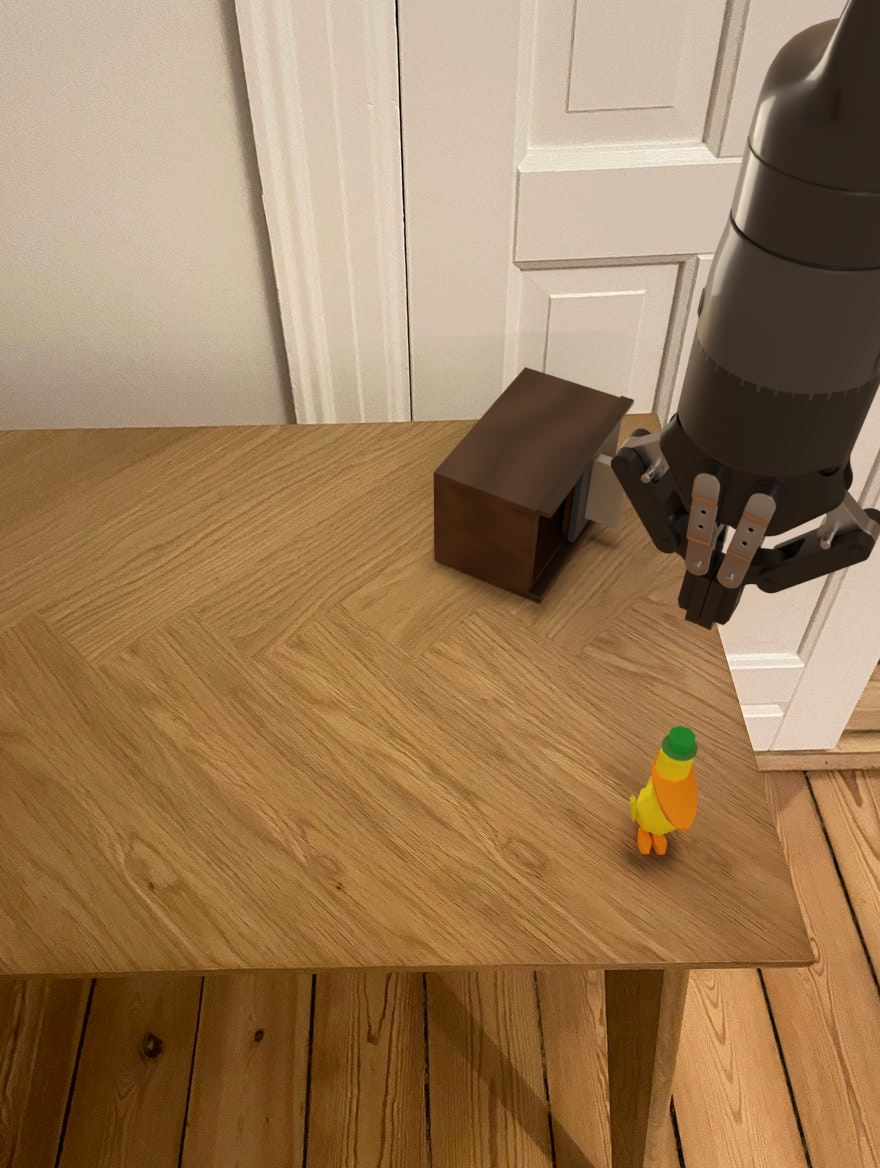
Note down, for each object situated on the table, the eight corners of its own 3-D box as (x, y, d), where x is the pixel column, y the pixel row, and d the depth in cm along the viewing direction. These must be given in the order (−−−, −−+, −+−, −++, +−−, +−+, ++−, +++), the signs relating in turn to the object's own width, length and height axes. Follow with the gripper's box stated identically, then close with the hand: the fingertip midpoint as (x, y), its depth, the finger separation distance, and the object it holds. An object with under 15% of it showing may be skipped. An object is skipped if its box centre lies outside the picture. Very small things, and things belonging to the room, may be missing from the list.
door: (640, 502, 87) (656, 427, 80) (605, 555, 83) (619, 480, 76) (603, 489, 88) (615, 413, 82) (566, 540, 84) (577, 465, 78)
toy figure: (685, 890, 64) (726, 797, 55) (631, 890, 65) (662, 798, 55) (669, 800, 69) (704, 701, 59) (618, 801, 69) (645, 701, 60)
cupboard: (617, 491, 89) (634, 399, 81) (539, 604, 81) (550, 514, 73) (518, 455, 93) (525, 364, 85) (434, 560, 84) (433, 470, 77)
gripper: (992, 331, 38) (848, 618, 52) (675, 245, 43) (619, 528, 56) (944, 436, 34) (802, 717, 48) (601, 329, 39) (560, 611, 53)
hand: (703, 614), depth 52 cm, fingers closed
